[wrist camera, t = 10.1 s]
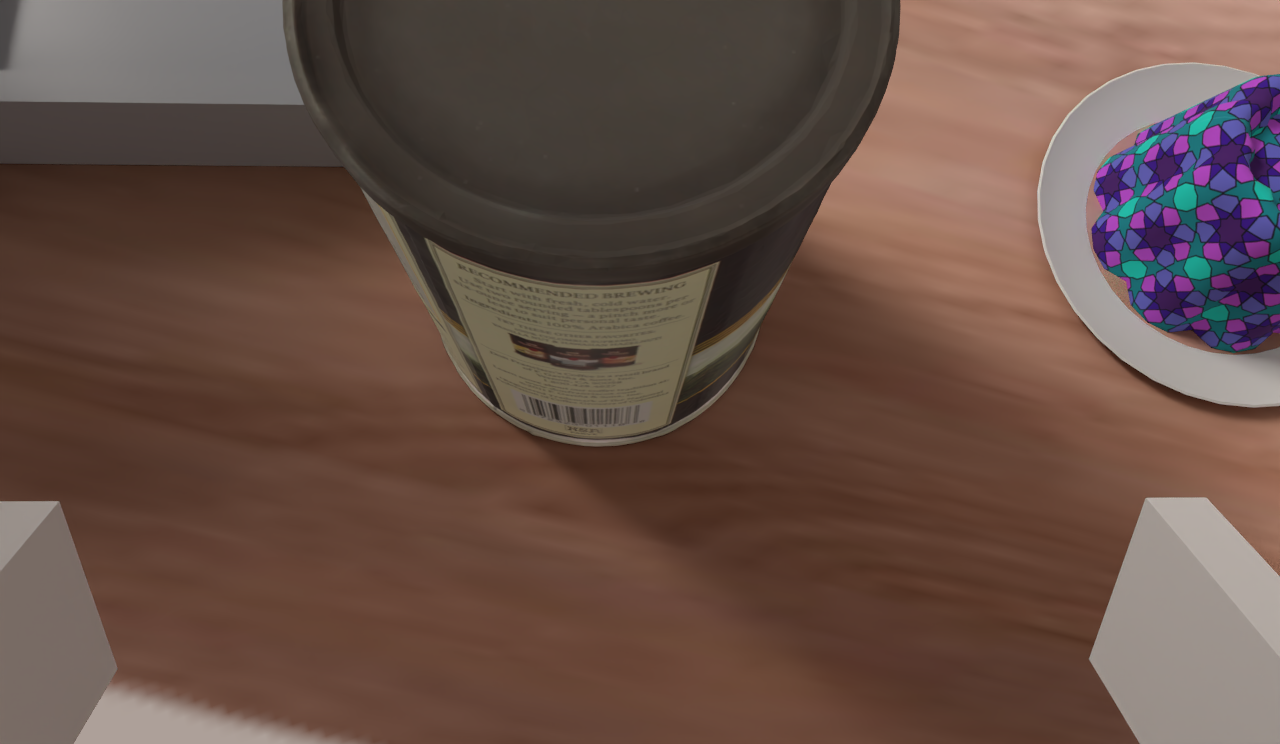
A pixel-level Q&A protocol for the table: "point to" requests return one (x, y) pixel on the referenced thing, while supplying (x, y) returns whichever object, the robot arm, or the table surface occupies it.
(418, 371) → the table surface
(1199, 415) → the table surface
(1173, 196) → the pudding
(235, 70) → the tray
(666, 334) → the coffee can
